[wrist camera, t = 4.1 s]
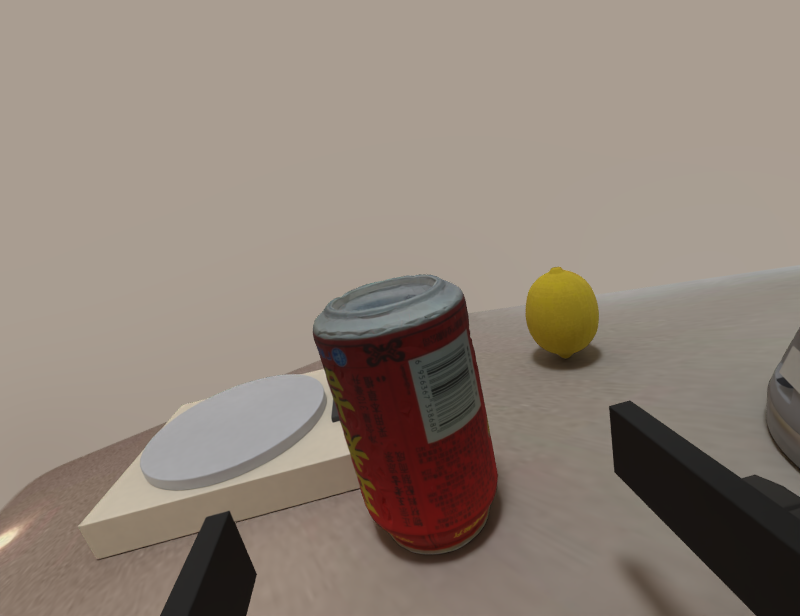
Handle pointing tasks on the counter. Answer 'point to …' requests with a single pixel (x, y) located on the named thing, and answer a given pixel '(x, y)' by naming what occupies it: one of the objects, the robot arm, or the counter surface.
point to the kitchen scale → (227, 463)
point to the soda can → (411, 408)
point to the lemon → (562, 312)
